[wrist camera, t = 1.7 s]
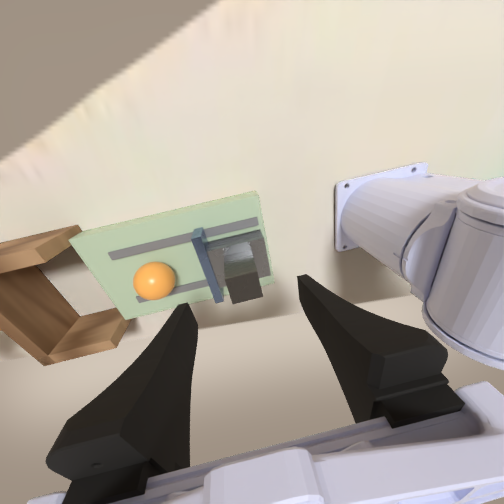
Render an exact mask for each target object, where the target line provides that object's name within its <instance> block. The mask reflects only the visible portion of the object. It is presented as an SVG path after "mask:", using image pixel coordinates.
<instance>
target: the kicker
mask: <svg viewBox="0 0 504 504" xmlns="http://www.w3.org/2000/svg"><path fill="white" fill-rule="evenodd" d="M191 241H192V243H193V246H194V249H195V251H196V254H197V256H198V259H199V262H200V264H201V267H202V269H203V272H204V275H205V277H206V280H207V282H208V285H209V287H210V290H211V293H212V295H213V298H214V300H215V303H219V302H223V301H224V288H223V287H226V286H227V288H228V291H229V294H230V297H231V300H232V303H233V304H236V303H240V302H244V301H248V300H252V299H256V298H260V297H263V294H262V290H261V285H260V281H259V278H262V277H266V276H270V275H271V272H270V267H269V261H268V256H267V251H266V246H265V240H264V237H263V234H262V232H261V230H260V229H258V230H254V231H250V232H246V233H242V234H238V235H234V236H229V237H225V238H221V239H217V240H213V241H209V242H208V241H207V238H206V235H205V232H204V229H203V227H201V228H196V229H194V231H193V234H192V237H191Z"/></svg>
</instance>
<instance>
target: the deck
mask: <svg viewBox="0 0 504 504" xmlns="http://www.w3.org/2000/svg"><path fill="white" fill-rule="evenodd" d="M201 227H203V229H204V232H205V235H206V238H207V241H208V242H209V241H213V240H217V239H221V238H225V237H229V236H234V235H238V234H242V233H246V232H250V231H254V230H258V229H260V230H261V232H262V234H263V237H264V240H265V246H266V251H267V256H268V261H269V267H270V272H271V275H270V276H266V277H262V278H259V281H260V285H261V286H265V285H269V284H273V283H275V282H274V277H273V271H272V266H271V260H270V255H269V249H268V244H267V238H266V233H265V228H264V222H263V217H262V211H261V206H260V200H259V195H258V194H257V192H256V191H251V192H247V193H243V194H239V195H234V196H230V197H226V198H222V199H218V200H213V201H209V202H205V203H201V204H196V205H192V206H188V207H184V208H179V209H175V210H171V211H167V212H163V213H158V214H154V215H150V216H146V217H141V218H137V219H133V220H129V221H125V222H120V223H116V224H112V225H108V226H103V227H99V228H95V229H91V230H86V231H82V232H81V233H79V234H77V235H76V236H74V237H72V238H71V239H69V240H68V241H69V242H70V243H71V245H72V246H73V248H74V249H75V250H76V252H77V253H78V255H79V256H80V257H81V259H82V260H83V261H84V263H85V264H86V266H87V267H88V268H89V270H90V271H91V273H92V274H93V275H94V277H95V278H96V280H97V281H98V282H99V284H100V285H101V287H102V288H103V289H104V291H105V292H106V294H107V295H108V296H109V298H110V299H111V301H112V302H113V303H114V305H115V306H116V307H117V309H118V310H119V312H120V313H121V314H122V316H123V317H124V319H125V320H128V319H132V318H136V317H140V316H144V315H148V314H152V313H156V312H160V311H164V310H168V309H172V308H176V307H177V306H178V304H183V303H187V302H188V304H192V303H196V302H200V301H205V300H209V299H213V295H212V293H211V290H210V287H209V285H208V282H207V280H206V277H205V275H204V272H203V269H202V267H201V264H200V262H199V259H198V256H197V254H196V251H195V249H194V246H193V243H192V241H191V237H192V234H193V231H194V229H196V228H201ZM149 262H162V263H164V264H166V265H168V266H169V267H170V268H171V269H172V270H173V272H174V274H175V285H174V288H173V290H172V291H171V292H170V293H169V294H168V295H167V296H166V297H164V298H162V299H159V300H147V299H144V298H142V297H141V296H139V295H138V294H137V293H136V291H135V289H134V287H133V278H134V275H135V273H136V271H137V270H138V269H139V268H140V267H141V266H143V265H144V264H146V263H149ZM223 288H224V296H225V295H229V291H228V288H227V286H226V287H223Z"/></svg>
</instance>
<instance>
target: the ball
mask: <svg viewBox="0 0 504 504" xmlns="http://www.w3.org/2000/svg"><path fill="white" fill-rule="evenodd" d="M174 285H175V274H174V272H173V270H172V269H171V268H170V267H169V266H168V265H166V264H164V263H162V262H149V263H146V264H144V265H143V266H141V267H140V268H139V269H138V270H137V271H136V273H135V275H134V278H133V287H134V289H135V291H136V293H137V294H138V295H139V296H141V297H142V298H144V299H147V300H159V299H162V298H164V297H166V296H167V295H168V294H169V293H170V292H171V291H172V290H173V288H174Z"/></svg>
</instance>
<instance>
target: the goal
mask: <svg viewBox="0 0 504 504" xmlns="http://www.w3.org/2000/svg"><path fill="white" fill-rule="evenodd" d="M81 232H82V231H81V229H80V228H79V226H78V225H75V226H70V227H66V228H62V229H58V230H53V231H49V232H45V233H41V234H36V235H32V236H28V237H24V238H19V239H15V240H11V241H7V242H2V243H0V329H1V330H2V331H3V332H4V333H6V334H7V335H8V336H9V337H10V338H11V339H13V340H14V341H15V342H16V343H17V344H19V345H20V346H21V347H22V348H23V349H24V350H26V351H27V352H28V353H29V354H30V355H32V356H33V357H34V358H35V359H36V360H38V361H39V362H40V363H41V364H42V365H43V366H47V365H51V364H54V363H58V362H62V361H66V360H70V359H74V358H78V357H82V356H86V355H90V354H94V353H98V352H102V351H106V350H110V349H114V348H117V346H118V344H119V342H120V340H121V338H122V336H123V334H124V332H125V331H126V329H127V327H128V325H129V323H130V321H131V319H128V320H125V319H124V317H123V316H122V314H121V313H120V312H119V310H118V309H117V308H113V309H109V310H105V311H101V312H97V313H93V314H89V315H85V316H81V317H80V316H79V315H78V314H77V313H76V311H75V310H74V309H73V308H72V307H71V306H70V305H69V303H68V302H67V301H66V300H65V299H64V298H63V296H62V295H61V294H60V293H59V292H58V291H57V289H56V288H55V287H54V286H53V285H52V284H51V283H50V281H49V280H48V279H47V278H46V277H45V276H44V274H43V273H42V272H41V271H40V270H39V269H38V267H37V266H36V265H37V264H41V263H46V262H47V261H49V260H50V259H52V258H53V257H55V256H56V255H58V254H59V253H61V252H62V251H64V250H65V249H67V248H68V247H70V246H71V243H70V242H69V241H68V240H69V239H71V238H72V237H74V236H76V235H77V234H79V233H81Z"/></svg>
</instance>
